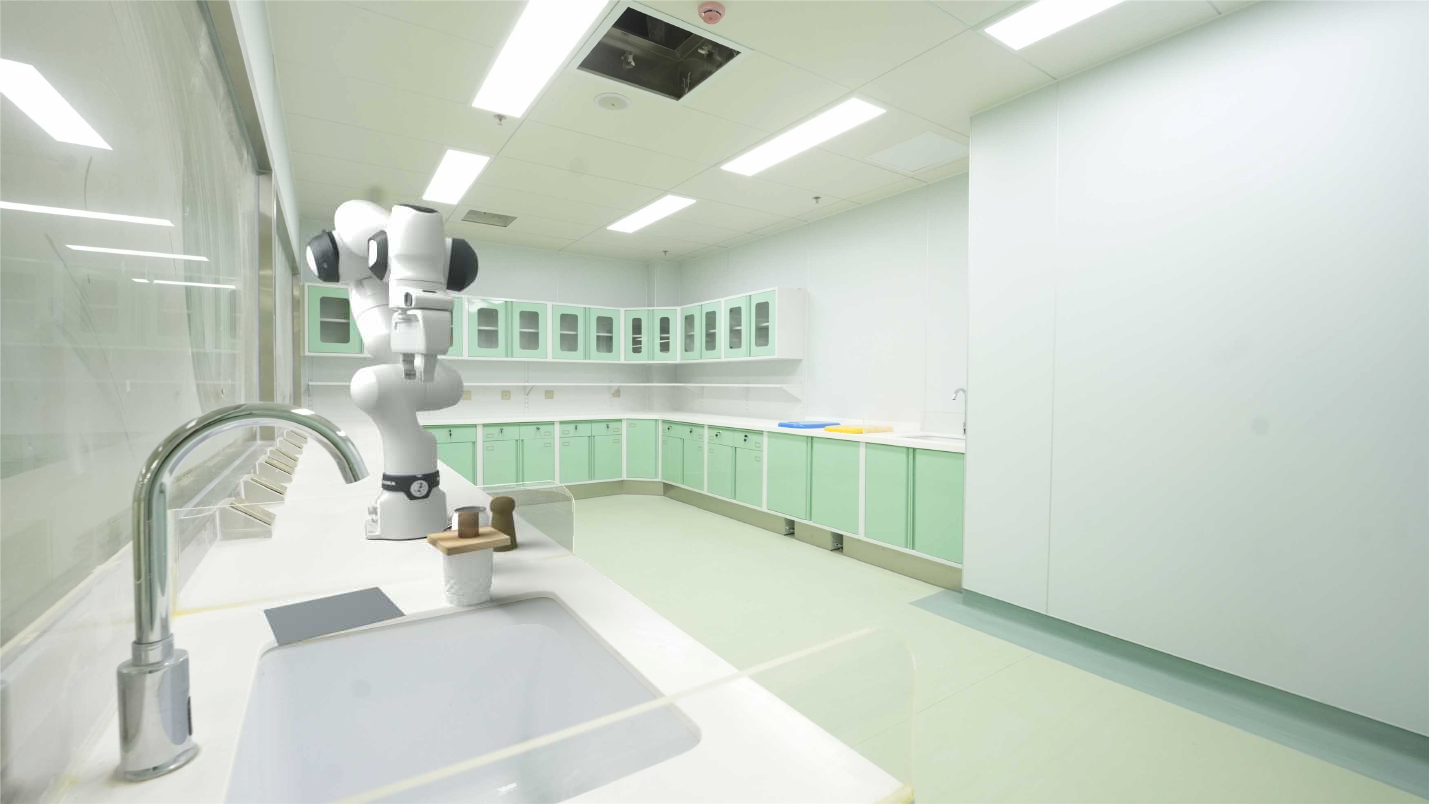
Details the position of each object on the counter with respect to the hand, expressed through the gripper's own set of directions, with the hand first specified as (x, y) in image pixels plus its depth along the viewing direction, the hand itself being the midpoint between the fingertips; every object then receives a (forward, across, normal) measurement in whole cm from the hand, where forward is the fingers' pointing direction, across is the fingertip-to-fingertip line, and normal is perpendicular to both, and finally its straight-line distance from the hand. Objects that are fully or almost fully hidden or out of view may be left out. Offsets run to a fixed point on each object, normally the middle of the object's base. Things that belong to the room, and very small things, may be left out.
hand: (418, 380), depth 107 cm
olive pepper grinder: (+37, -13, +21) cm, 44 cm away
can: (+37, -2, +10) cm, 38 cm away
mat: (+36, +6, -14) cm, 39 cm away
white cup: (+36, +13, +4) cm, 39 cm away
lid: (+26, +13, +4) cm, 30 cm away
